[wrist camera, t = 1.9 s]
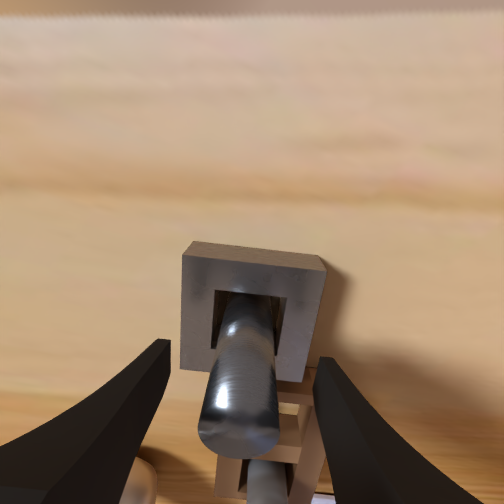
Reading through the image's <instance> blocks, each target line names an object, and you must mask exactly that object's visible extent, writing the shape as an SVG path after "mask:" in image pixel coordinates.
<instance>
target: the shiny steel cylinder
mask: <svg viewBox="0 0 504 504" xmlns="http://www.w3.org/2000/svg"><path fill="white" fill-rule="evenodd" d="M198 434H199V437H200V439H201V441H202V442H203V443H204V445H205V446H206V447H207V448H209V449H210V450H211V451H213V452H215V453H216V454H219V455H221V456H224V457H227V458H232V459H251V458H255V457H259V456H261V455H264V454H265V453H267V452H269V451H270V450H271V449H272V448H273V447H274V446H275V445H276V444H277V442H278V440H279V437H280V423H279V409H278V395H277V382H276V368H275V354H274V340H273V327H272V313H271V300H270V296H268V295H259V294H250V293H241V292H233V291H231V292H230V294H229V296H228V299H227V304H226V308H225V312H224V316H223V321H222V325H221V329H220V333H219V338H218V342H217V346H216V350H215V355H214V359H213V363H212V367H211V372H210V376H209V380H208V384H207V389H206V393H205V397H204V401H203V406H202V410H201V414H200V418H199V423H198Z"/></svg>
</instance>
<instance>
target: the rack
mask: <svg viewBox="0 0 504 504" xmlns="http://www.w3.org/2000/svg"><path fill="white" fill-rule="evenodd" d="M316 371H317V368H310V367H305V370H304V375H303V379H302V383H301V382H292V381H283V380H276V382H277V395H278V402H284V403H293V404H300V406H299V411H298V415H297V416H295V415H286V414H279V423H280V437H279V440H278V442H277V444H276V445H275V446H274V447H273V448H272V449H271V450H270V451H269V452H267V453H265V454H264V455H261V456H259V457H255V458H251V459H232V458H227V457H224V456H221V455H219V454H218V457H217V467H216V478H215V488H214V497H223V498H233V499H242V500H247V504H311V502H312V499H313V495H314V492H315V489H316V486H317V483H318V479H319V476H320V473H321V470H322V467H323V463H324V460H325V457H326V453H325V449H324V445H323V441H322V437H321V433H320V429H319V425H318V421H317V417H316V413H315V407H314V400H313V392H312V387H313V383H314V379H315V375H316ZM285 462H286V463H285Z"/></svg>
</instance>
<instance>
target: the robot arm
mask: <svg viewBox="0 0 504 504" xmlns="http://www.w3.org/2000/svg"><path fill="white" fill-rule="evenodd" d="M170 373H171V340H167V339H157V340H155V341H154V342H153V343H152V344H151V345H150V346H149V347H148V348H147V349H146V350H145V351H144V352H142V353H141V354H140V355H139V356H138V357H137V358H136V359H135V360H134V361H132V362H131V363H130V364H129V365H128V366H127V367H125V368H124V369H123V370H122V371H121V372H120V373H118V374H117V375H116V376H115V377H113V378H112V379H111V380H110V381H108V382H107V383H106V384H105V385H103V386H102V387H101V388H99V389H98V390H96V391H95V392H94V393H92V394H91V395H89V396H88V397H87V398H85V399H84V400H82V401H81V402H79V403H78V404H76V405H75V406H73V407H71V408H70V409H68V410H66V411H65V412H63V413H62V414H60V415H58V416H57V417H55V418H53V419H52V420H50V421H48V422H46V423H45V424H43V425H41V426H39V427H37V428H36V429H34V430H32V431H30V432H28V433H26V434H24V435H22V436H20V437H19V438H17V439H15V440H13V441H11V442H9V443H6V444H4V445H2V446H0V504H119V502H120V499H121V496H122V494H123V491H124V488H125V485H126V482H127V479H128V477H129V474H130V471H131V468H132V466H133V463H134V460H135V457H136V455H137V453H138V450H139V448H140V445H141V443H142V441H143V439H144V437H145V434H146V432H147V430H148V428H149V426H150V424H151V421H152V419H153V417H154V415H155V413H156V410H157V408H158V406H159V404H160V402H161V399H162V397H163V395H164V392H165V389H166V386H167V383H168V380H169V376H170ZM312 392H313V400H314V407H315V413H316V417H317V421H318V425H319V429H320V433H321V437H322V441H323V445H324V449H325V453H326V457H327V461H328V465H329V469H330V474H331V479H332V485H333V491H334V496H333V495H324V494H314V495H313V499H312V502H311V504H484V503H482V502H481V501H479V500H478V499H477V498H475V497H474V496H472V495H471V494H470V493H468V492H467V491H465V490H464V489H463V488H461V487H460V486H459V485H458V484H456V483H455V482H454V481H452V480H451V479H450V478H449V477H447V476H446V475H445V474H443V473H442V472H441V471H440V470H439V469H437V468H436V467H435V466H434V465H432V464H431V463H430V462H429V461H428V460H427V459H425V458H424V457H423V456H422V455H421V454H420V453H419V452H417V451H416V450H415V449H414V448H413V447H412V446H411V445H410V444H408V443H407V442H406V441H405V440H404V439H403V438H402V437H401V436H400V435H399V434H398V433H397V432H396V431H395V430H394V429H393V428H392V427H391V426H390V425H389V424H388V423H387V422H386V421H385V420H384V419H383V418H382V417H381V416H380V415H379V414H378V413H377V411H376V410H375V409H374V408H373V407H372V406H371V405H370V404H369V402H368V401H367V400H366V399H365V398H364V397H363V395H362V394H361V393H360V392H359V391H358V389H357V388H356V387H355V386H354V384H353V383H352V382H351V381H350V379H349V378H348V377H347V375H346V374H345V373H344V372H343V370H342V369H341V368H340V366H339V365H338V364H337V362H336V361H335V360H334V359H333V358H330V357H321V356H320V360H319V364H318V367H317V371H316V375H315V379H314V383H313V387H312Z"/></svg>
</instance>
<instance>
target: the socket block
mask: <svg viewBox="0 0 504 504" xmlns="http://www.w3.org/2000/svg"><path fill="white" fill-rule="evenodd" d="M326 275H327V270H326V268H325V267H324V265H323V263H322V262H321V260H320V258H319V257H318V255H309V254H301V253H292V252H283V251H275V250H266V249H257V248H248V247H240V246H231V245H222V244H214V243H205V242H196V241H193V242H192V243H191V245H190V246H189V247H188V248H187V250H186V251H185V252H184V253H183V254H182V291H181V340H180V369H184V370H193V371H202V372H211V367H212V363H213V359H214V355H215V350H216V346H217V342H218V338H219V333H220V329H221V325H217V317H218V304H219V291H220V290H224V291H233V292H241V293H250V294H259V295H268V296H277V297H281V298H280V304H279V310H278V316H277V322H276V328H275V331H273V340H274V354H275V368H276V380H283V381H292V382H301V383H302V379H303V375H304V370H305V366H306V362H307V357H308V353H309V349H310V344H311V340H312V336H313V331H314V327H315V322H316V318H317V314H318V309H319V305H320V301H321V296H322V292H323V288H324V283H325V279H326Z"/></svg>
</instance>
